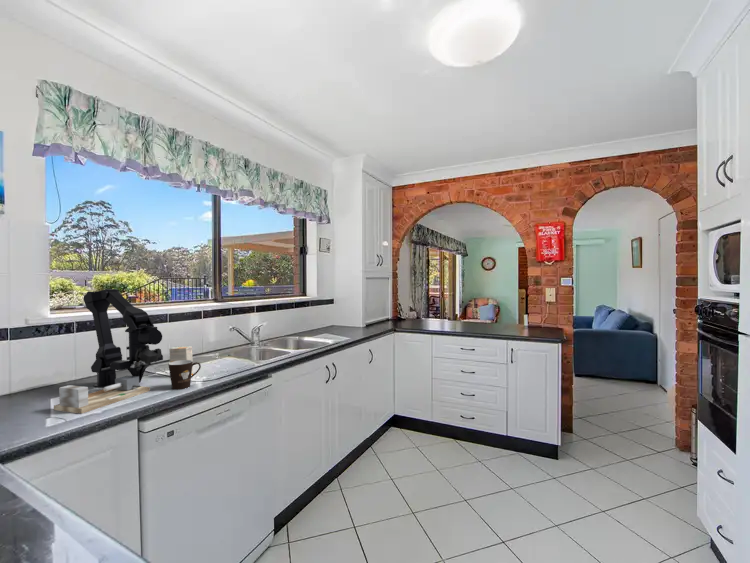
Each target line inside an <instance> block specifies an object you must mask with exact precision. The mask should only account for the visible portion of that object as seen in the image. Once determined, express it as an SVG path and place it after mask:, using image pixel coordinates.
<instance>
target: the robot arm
mask: <svg viewBox="0 0 750 563" xmlns="http://www.w3.org/2000/svg"><path fill="white" fill-rule="evenodd" d="M83 302H84V304H85V308H86V309H87V310H88V311H89V312H91V314H92V318H93V323H94V328H95V333H96V337H97V338H96V339H97V342H98V349H97V351H96V353H95V361H94V362H93V364H92V365H91V366H90V369H91V373H96V382H97V383H96V384H93V387H97V388H98V387H99V388H104V387H107V386H110V385H114V384H115V379H116V378H117V373H116V371H125V370H128V372H129V373H130V376H139V384H140V383H141V381H142V379H143V377H144V374H145V371H146V369H148V367H149V366H151V365H152V364H153V363H157V362H160V361H164V356H163V353H162V348H161V349H160V348H155V349H150V345H155V346H156V345H159V344H160V343H161V342H162V341H163V334H162V332H161V330H159V329H158V327H157V326H155V324H154V322H153V321H152V320H151V318H150V316H149V314H148V312H146V311H145V310H144V309H142V308H139V307H135V306H134V305H133V304H131V302H129V301H128V300H127V298H126V297H124V296H123V295H122V294H121V293H120V292H119V290H118V289H116V288H105V289H101V290H96V291H93V290H92V291H87V292H86V293H85V294H84V296H83ZM110 305H111V306H112V307H113V308H114V309H116V310H117V311H118V312H119V313H120V314H121V316H122V319H121V320H122V321H123V322H124V324H125V325H126V326H127V328H126V329H125V330H124V331H125V333H128V346H126V350H128V355H129V356H127V357H126V360H125V359H124V360H123V354H122V348H121V347H120V346H116V345H115V343H114V340H113V334H112V329H111V324H110V320H109V315H108V314H109V313H108V310H109V308H110Z"/></svg>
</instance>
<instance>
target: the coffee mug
mask: <svg viewBox="0 0 750 563" xmlns="http://www.w3.org/2000/svg"><path fill="white" fill-rule="evenodd" d="M192 363H193V364H192ZM194 365H198V367H199V368H198V369H197V370H196V371H195V372H193V375H192V376H191V373H192V366H193V367H194ZM201 368H202V366H201V363H200V362H194V360H193V361H192V360H180V361H174V362H170V361H169V363H168V371H169V377H170V384H171V389H172V390H176V391H179V390H185V388H186V389H188V387H189V388H191V382H192V378H194V377H195V375H197V373H198V372H199V371H200V370H201Z"/></svg>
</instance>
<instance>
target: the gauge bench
mask: <svg viewBox="0 0 750 563" xmlns="http://www.w3.org/2000/svg"><path fill="white" fill-rule="evenodd" d="M139 386H140V387H137V388H134V389H130V390H116V389H112V390H109V391H104V388H102V389H99V390H97V391H93V392H89V387H88V386H80V385H72V384H71V385H70V384H69V385H68V384H67V385H65V386H60V387H59V388H58V391H59V393H58V394H59V396H58V397H59V398H58V399H59V404H55V405H53V410H54V411H60V412H66V413H73V414H74V413H76V414H86V413H87V412H90V411H94V410H96V409H99V408H100V409H101V408H103V407H105V406H109V405H112V404H115V403H117V402H120V401H123V400H127V399H130V398H132V397H136V396H138V395H142V394H145V393H147V392H150V389H151V388H150V386H141V385H139Z"/></svg>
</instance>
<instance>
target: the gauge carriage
mask: <svg viewBox="0 0 750 563" xmlns="http://www.w3.org/2000/svg"><path fill="white" fill-rule="evenodd" d="M140 386H141V385H140V383H139V376H132V375H125V376H121V377H120V376H119V377H116V379H115V384H114V385H110V386H107V387H103V389H104V391H109V390H112V389H116V390H130V389H134V388H137V387H140Z"/></svg>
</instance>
